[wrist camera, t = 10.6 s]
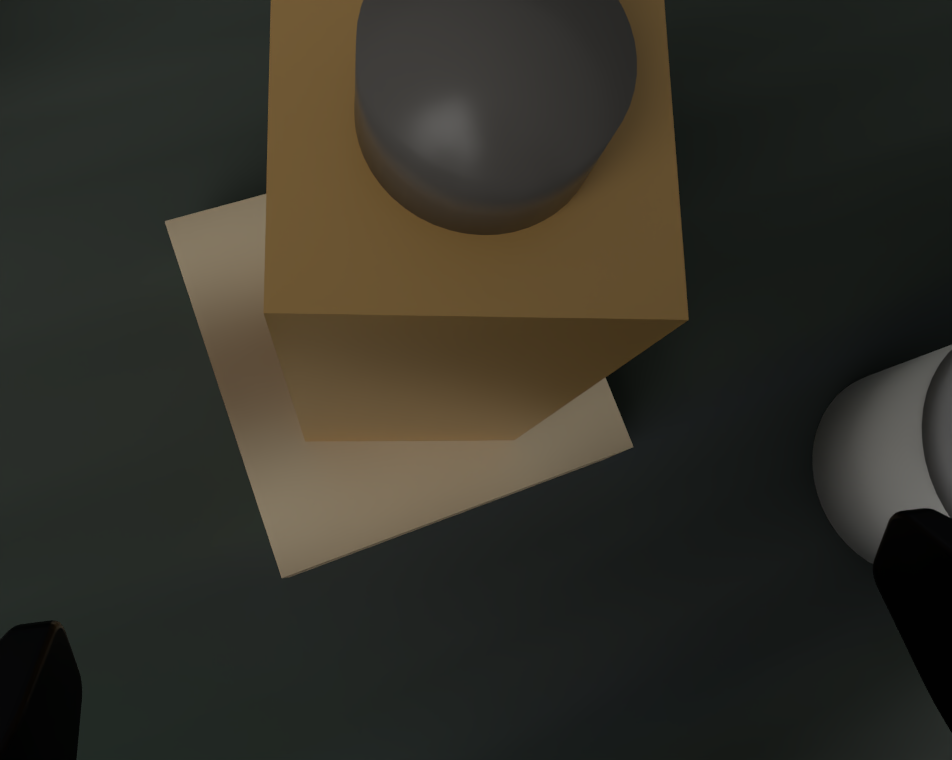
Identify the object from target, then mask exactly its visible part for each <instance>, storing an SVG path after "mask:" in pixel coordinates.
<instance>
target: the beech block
mask: <svg viewBox="0 0 952 760" xmlns="http://www.w3.org/2000/svg"><path fill="white" fill-rule="evenodd" d="M165 224H166V227H167V230H168V233H169V236H170V239H171V242H172V245H173V248H174V251H175V254H176V257H177V260H178V263H179V267H180V270H181V273H182V276H183V279H184V282H185V285H186V288H187V291H188V294H189V297H190V300H191V303H192V306H193V309H194V312H195V315H196V318H197V321H198V324H199V327H200V330H201V334H202V337H203V340H204V343H205V346H206V349H207V352H208V355H209V358H210V361H211V364H212V367H213V370H214V373H215V376H216V379H217V382H218V385H219V388H220V391H221V394H222V397H223V401H224V404H225V407H226V410H227V413H228V416H229V419H230V422H231V425H232V428H233V431H234V434H235V437H236V440H237V443H238V446H239V449H240V452H241V455H242V458H243V461H244V464H245V468H246V471H247V474H248V477H249V480H250V483H251V486H252V489H253V492H254V495H255V498H256V501H257V504H258V507H259V510H260V513H261V516H262V519H263V522H264V525H265V528H266V531H267V535H268V538H269V541H270V544H271V547H272V550H273V553H274V556H275V559H276V562H277V565H278V568H279V571H280V574H281V577H282V578H288V577H291V576H294V575H296V574H299V573H302V572H304V571H307V570H310V569H313V568H315V567H318V566H321V565H323V564H326V563H329V562H331V561H334V560H337V559H339V558H342V557H345V556H347V555H350V554H353V553H355V552H358V551H361V550H363V549H366V548H369V547H371V546H374V545H377V544H379V543H382V542H385V541H387V540H390V539H393V538H396V537H398V536H401V535H404V534H406V533H409V532H412V531H414V530H417V529H420V528H422V527H425V526H428V525H430V524H433V523H436V522H438V521H441V520H444V519H446V518H449V517H452V516H454V515H457V514H460V513H462V512H465V511H468V510H470V509H473V508H476V507H479V506H481V505H484V504H487V503H489V502H492V501H495V500H497V499H500V498H503V497H505V496H508V495H511V494H513V493H516V492H519V491H521V490H524V489H527V488H529V487H532V486H535V485H537V484H540V483H543V482H545V481H548V480H551V479H553V478H556V477H559V476H562V475H564V474H567V473H570V472H572V471H575V470H578V469H580V468H583V467H586V466H588V465H591V464H594V463H596V462H599V461H602V460H604V459H607V458H609V457H611V456H614V455H616V454H618V453H621V452H623V451H625V450H628V449H630V448H632V447H633V445H632V442H631V440H630V437H629V435H628V432H627V430H626V427H625V425H624V422H623V420H622V417H621V415H620V412H619V410H618V407H617V405H616V402H615V400H614V397H613V395H612V392H611V390H610V387H609V385H608V382H607V380H606V377H605V378H604V379H602V380H601V381H599V382H598V383H597V384H595V385H594V386H592V387H591V388H589V389H588V390H586V391H585V392H584V393H582V394H581V395H579V396H578V397H576V398H575V399H573V400H572V401H571V402H569V403H568V404H566V405H565V406H563V407H562V408H560V409H559V410H557V411H556V412H555V413H553V414H552V415H550V416H549V417H547V418H546V419H544V420H543V421H542V422H540V423H539V424H537V425H536V426H534V427H533V428H531V429H530V430H529V431H527V432H526V433H524V434H523V435H521V436H520V437H518V438H517V439H516V440H486V441H312V442H305V439H304V436H303V433H302V430H301V427H300V424H299V421H298V417H297V414H296V411H295V408H294V405H293V402H292V399H291V396H290V393H289V390H288V387H287V384H286V381H285V378H284V375H283V371H282V368H281V365H280V362H279V359H278V356H277V353H276V350H275V347H274V344H273V341H272V338H271V335H270V332H269V328H268V325H267V322H266V319H265V316H264V271H265V229H266V194H264V195H260V196H256V197H253V198H249V199H245V200H242V201H238V202H234V203H230V204H227V205H223V206H219V207H216V208H212V209H208V210H205V211H201V212H197V213H194V214H190V215H186V216H183V217H179V218H175V219H172V220H168V221H165Z"/></svg>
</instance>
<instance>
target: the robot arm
mask: <svg viewBox="0 0 952 760" xmlns="http://www.w3.org/2000/svg"><path fill="white" fill-rule="evenodd" d="M873 575H874V579H875V582H876V585H877V587H878V589H879V591H880V593H881V595H882V598H883V600H884V602H885V604H886V606H887V608H888V610H889V612H890V614H891V616H892V618H893V620H894V622H895V624H896V627H897V629H898V631H899V633H900V635H901V637H902V639H903V641H904V643H905V645H906V647H907V649H908V651H909V653H910V655H911V658H912V660H913V662H914V664H915V666H916V668H917V670H918V672H919V674H920V676H921V678H922V680H923V682H924V684H925V686H926V688H927V690H928V692H929V694H930V696H931V698H932V700H933V702H934V703H935V705H936V707H937V709H938V710H939V712H940V714H941V716H942V717H943V719H944V721H945V722H946V724H947V726H948V727H949V729H950V731H951V732H952V518H950V517H948V516H946V515H944V514H942V513H940V512H938V511H936V510H934V509H930V508H920V509H912V510H904V511H899V512H896V513H895V514H893V515H892V516H891V517H890V519H889V521H888V524H887V526H886V529H885V532H884V534H883V537H882V540H881V542H880V545H879V548H878V550H877V553H876V556H875V559H874V562H873ZM81 703H82V683H81V676H80V673H79V670H78V667H77V664H76V661H75V658H74V655H73V652H72V649H71V646H70V643H69V641H68V638H67V635H66V632H65V630H64V627H63V626H62V625H61V624H60V622H58V621H53V620H51V621H44V622H36V623H28V624H21V625H17V626H15V627H13V628H12V629H10V630H9V631H8V632H7V633H6V634H5V635H4V636H3V637H2V638H1V639H0V760H76V758H77V747H78V736H79V725H80V714H81Z"/></svg>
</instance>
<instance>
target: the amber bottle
mask: <svg viewBox="0 0 952 760" xmlns="http://www.w3.org/2000/svg"><path fill="white" fill-rule="evenodd" d="M264 316H265V319H266V322H267V325H268V328H269V332H270V335H271V338H272V341H273V344H274V347H275V350H276V353H277V356H278V359H279V362H280V365H281V368H282V371H283V375H284V378H285V381H286V384H287V387H288V390H289V393H290V396H291V399H292V402H293V405H294V408H295V411H296V414H297V417H298V421H299V424H300V427H301V430H302V433H303V436H304V439H305V442H312V441H486V440H516V439H517V438H518V437H520V436H521V435H523V434H524V433H526V432H527V431H529V430H530V429H531V428H533V427H534V426H536V425H537V424H539V423H540V422H542V421H543V420H544V419H546V418H547V417H549V416H550V415H552V414H553V413H555V412H556V411H557V410H559V409H560V408H562V407H563V406H565V405H566V404H568V403H569V402H571V401H572V400H573V399H575V398H576V397H578V396H579V395H581V394H582V393H584V392H585V391H586V390H588V389H589V388H591V387H592V386H594V385H595V384H597V383H598V382H599V381H601V380H602V379H604V378H605V377H607V376H608V375H610V374H611V373H612V372H614V371H615V370H617V369H618V368H620V367H621V366H623V365H624V364H626V363H627V362H628V361H630V360H631V359H633V358H634V357H636V356H637V355H639V354H640V353H641V352H643V351H644V350H646V349H647V348H649V347H650V346H652V345H653V344H654V343H656V342H657V341H659V340H660V339H662V338H663V337H665V336H666V335H667V334H669V333H670V332H672V331H673V330H675V329H676V328H678V327H679V326H681V325H682V324H683V323H685V322H686V321H688V320H689V318H688V304H687V291H686V278H685V265H684V252H683V239H682V226H681V213H680V200H679V187H678V174H677V161H676V148H675V135H674V122H673V109H672V96H671V83H670V70H669V57H668V44H667V31H666V18H665V5H664V0H271V20H270V62H269V104H268V146H267V187H266V229H265V271H264Z"/></svg>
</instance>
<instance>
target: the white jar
mask: <svg viewBox="0 0 952 760" xmlns="http://www.w3.org/2000/svg"><path fill="white" fill-rule="evenodd" d="M812 468H813V476H814V483H815V487H816V491H817V495H818V498H819V500H820V503H821V506H822V508H823V510H824V512H825V514H826V516H827V518H828V520H829V522H830V523H831V525H832V526H833V528H834V529H835V531H836V532H837V534H838V535H839V536H840V537H841V538H842V539H843V541H844V542H845V543H846V544H847V545H848V546H849V547H850V548H851V549H852V550H853V551H855V552H856V553H857V554H858V555H859V556H861V557H862V558H864V559H865V560H866V561H868V562H870V563H871V564H873V562H874V559H875V556H876V553H877V550H878V548H879V545H880V542H881V540H882V537H883V534H884V532H885V529H886V526H887V524H888V521H889V519H890V517H891V516H892V515H893V514H895V513H896V512H899V511H904V510H912V509H920V508H930V509H934V510H936V511H938V512H940V513H942V514H944V515H946V516H948V517H950V518H952V345H949V346H947V347H944V348H941V349H939V350H936V351H933V352H931V353H928V354H925V355H923V356H920V357H917V358H915V359H912V360H909V361H907V362H904V363H901V364H899V365H896V366H893V367H891V368H888V369H885V370H883V371H880V372H877V373H874V374H872V375H869V376H866V377H864V378H862V379H860V380H858V381H856V382H854V383H852V384H851V385H849V386H848V387H846V388H845V389H844V390H843V391H842V392H840V393H839V394H838V395H837V396H836V397H835V398H834V400H833V401H832V402H831V403H830V405H829V406H828V407H827V409H826V411H825V413H824V414H823V416H822V418H821V421H820V423H819V425H818V428H817V431H816V435H815V439H814V445H813V453H812Z"/></svg>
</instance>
